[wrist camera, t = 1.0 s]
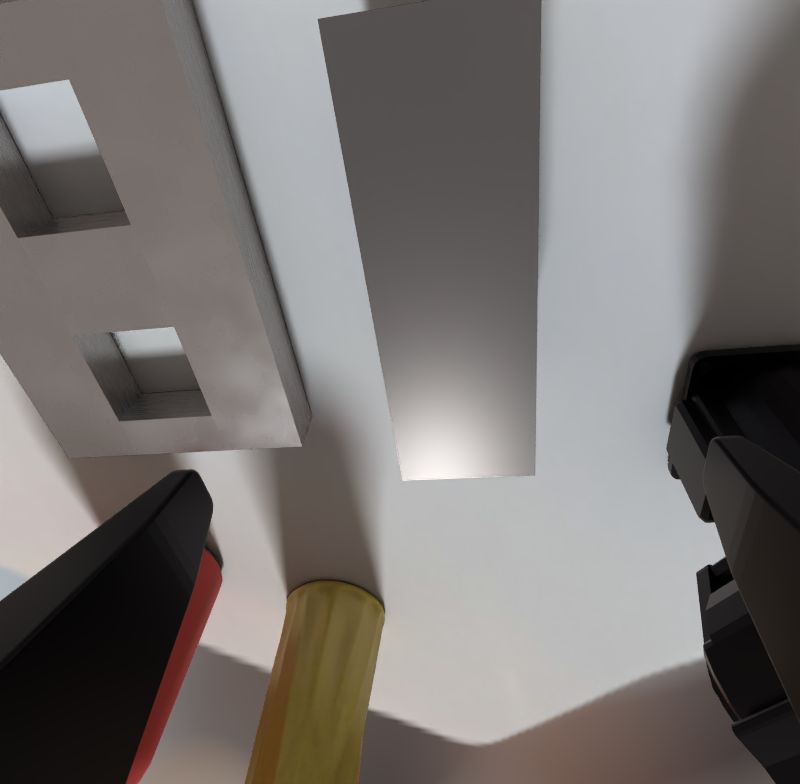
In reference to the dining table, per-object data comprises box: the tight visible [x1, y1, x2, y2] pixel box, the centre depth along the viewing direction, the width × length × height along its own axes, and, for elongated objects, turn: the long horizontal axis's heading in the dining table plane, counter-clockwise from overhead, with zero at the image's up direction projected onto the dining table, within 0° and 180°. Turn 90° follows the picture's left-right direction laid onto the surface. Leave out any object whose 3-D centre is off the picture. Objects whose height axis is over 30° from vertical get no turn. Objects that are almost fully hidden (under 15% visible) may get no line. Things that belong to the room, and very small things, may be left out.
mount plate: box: [0, 0, 312, 458], centre depth 20 cm, size 11×16×2 cm
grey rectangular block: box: [318, 0, 541, 481], centre depth 17 cm, size 13×4×6 cm, turn 8°
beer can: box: [126, 548, 222, 784], centre depth 27 cm, size 7×7×12 cm
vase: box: [245, 581, 385, 784], centre depth 28 cm, size 6×6×14 cm
